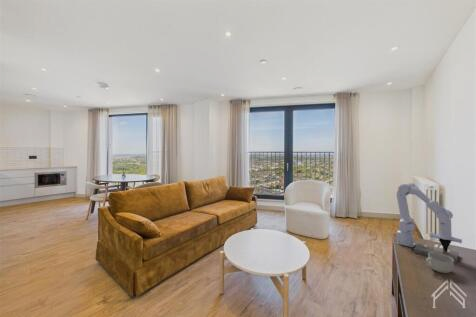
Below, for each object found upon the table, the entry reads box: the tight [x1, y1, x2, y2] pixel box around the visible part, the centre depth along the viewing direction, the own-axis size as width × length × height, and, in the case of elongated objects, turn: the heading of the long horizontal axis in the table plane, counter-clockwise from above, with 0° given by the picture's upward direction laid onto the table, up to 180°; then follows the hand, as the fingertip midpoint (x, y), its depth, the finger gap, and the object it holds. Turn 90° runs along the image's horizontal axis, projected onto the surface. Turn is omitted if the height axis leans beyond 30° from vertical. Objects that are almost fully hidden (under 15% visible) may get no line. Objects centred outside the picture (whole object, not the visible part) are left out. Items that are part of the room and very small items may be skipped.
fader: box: [433, 244, 444, 253], centre depth 141 cm, size 4×5×3 cm
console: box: [413, 243, 459, 263], centre depth 142 cm, size 20×12×2 cm, turn 41°
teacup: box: [425, 252, 455, 274], centre depth 123 cm, size 14×11×8 cm
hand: (445, 251), depth 138 cm, fingers closed
